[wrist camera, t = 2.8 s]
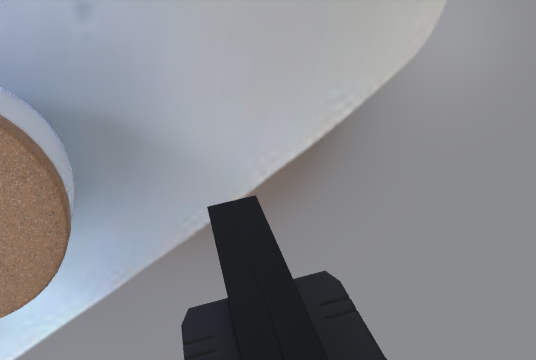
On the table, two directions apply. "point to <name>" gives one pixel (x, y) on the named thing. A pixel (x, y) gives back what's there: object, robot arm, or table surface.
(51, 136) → the trinket box
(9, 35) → the table surface
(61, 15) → the table surface
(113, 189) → the table surface
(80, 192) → the table surface
